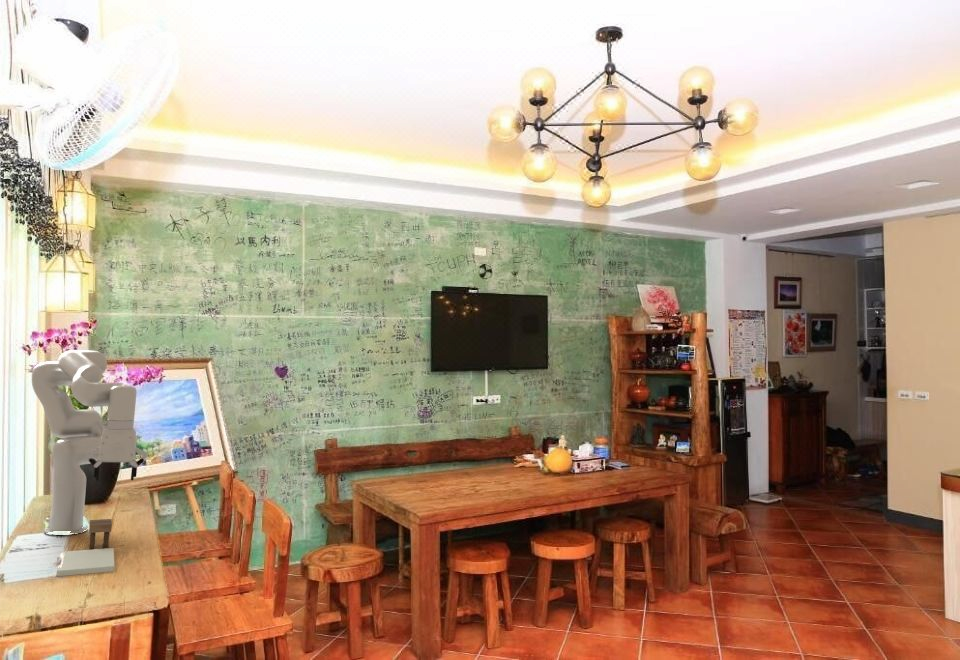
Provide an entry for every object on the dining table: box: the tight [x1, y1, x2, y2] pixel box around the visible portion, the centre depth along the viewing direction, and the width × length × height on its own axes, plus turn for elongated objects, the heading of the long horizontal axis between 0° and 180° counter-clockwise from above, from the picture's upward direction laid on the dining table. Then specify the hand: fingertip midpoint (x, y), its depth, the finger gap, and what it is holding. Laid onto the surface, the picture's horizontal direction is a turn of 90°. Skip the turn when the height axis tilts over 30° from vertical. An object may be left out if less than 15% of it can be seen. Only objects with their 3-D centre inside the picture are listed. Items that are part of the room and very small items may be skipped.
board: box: [56, 547, 115, 577], centre depth 199 cm, size 18×14×2 cm
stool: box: [88, 518, 113, 550], centre depth 214 cm, size 6×6×8 cm
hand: (115, 479), depth 215 cm, fingers open, 9 cm apart
